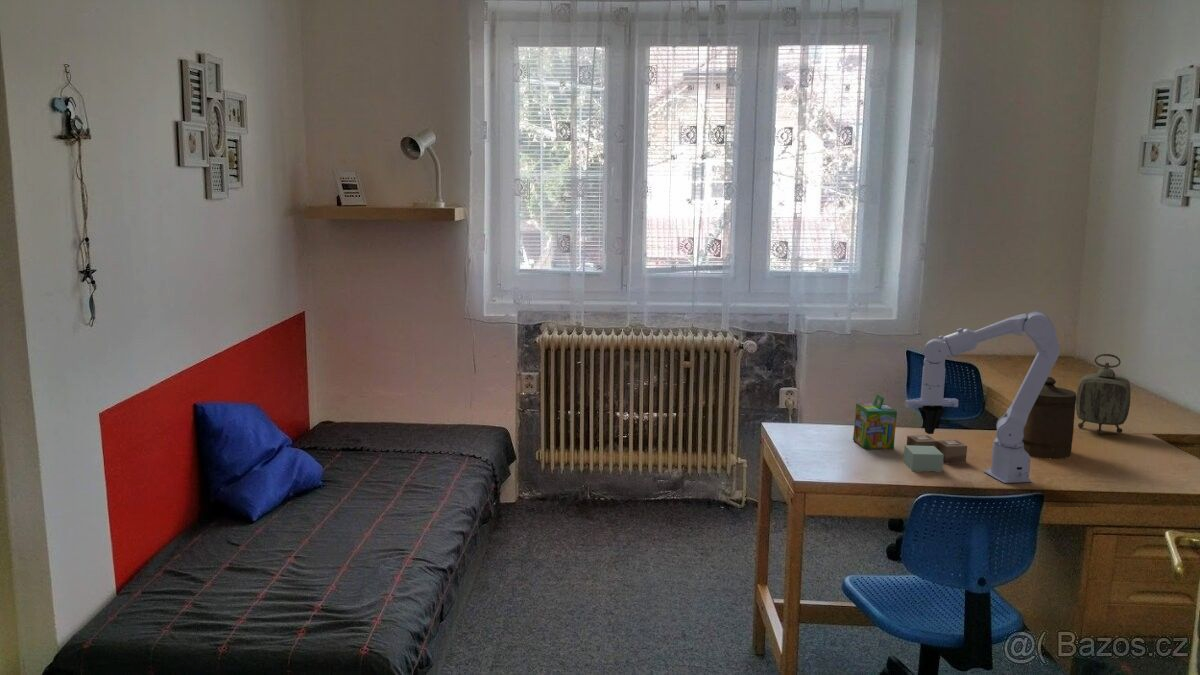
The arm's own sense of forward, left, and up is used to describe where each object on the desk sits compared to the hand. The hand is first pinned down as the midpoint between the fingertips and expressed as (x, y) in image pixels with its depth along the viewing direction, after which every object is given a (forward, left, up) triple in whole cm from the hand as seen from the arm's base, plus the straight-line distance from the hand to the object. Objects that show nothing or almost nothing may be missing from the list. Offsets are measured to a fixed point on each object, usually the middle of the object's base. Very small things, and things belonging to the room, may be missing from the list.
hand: (929, 433), depth 240 cm
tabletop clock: (+25, -72, -10) cm, 76 cm away
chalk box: (+21, +5, -10) cm, 23 cm away
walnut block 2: (+5, -9, -10) cm, 14 cm away
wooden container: (+9, -41, -10) cm, 43 cm away
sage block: (0, +1, -10) cm, 10 cm away
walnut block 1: (+10, -4, -10) cm, 14 cm away
